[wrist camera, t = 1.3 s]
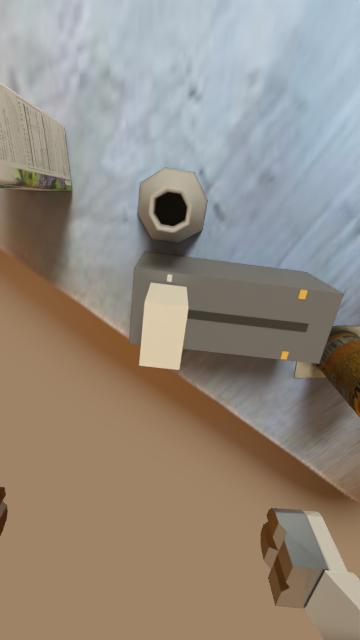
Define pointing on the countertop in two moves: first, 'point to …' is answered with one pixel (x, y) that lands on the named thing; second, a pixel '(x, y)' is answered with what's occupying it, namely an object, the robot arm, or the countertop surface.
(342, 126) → the countertop surface
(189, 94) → the countertop surface
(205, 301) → the console
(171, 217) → the flask
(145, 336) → the fader
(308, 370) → the condiment
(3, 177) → the syrup box
